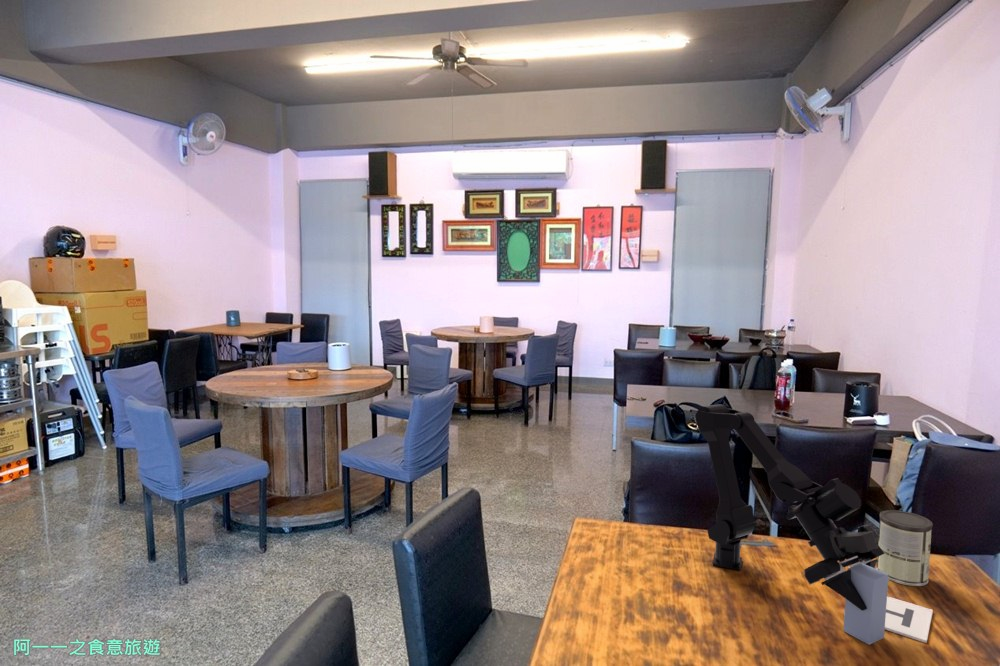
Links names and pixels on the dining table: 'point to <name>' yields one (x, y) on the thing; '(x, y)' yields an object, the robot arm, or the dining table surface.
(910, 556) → the coffee can
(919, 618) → the letter tile
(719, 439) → the robot arm
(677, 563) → the dining table surface
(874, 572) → the slate blue block
